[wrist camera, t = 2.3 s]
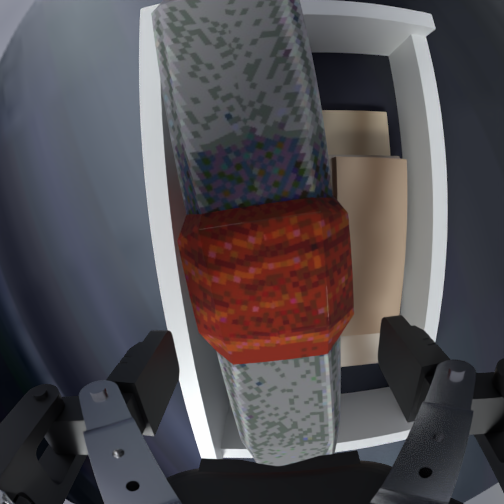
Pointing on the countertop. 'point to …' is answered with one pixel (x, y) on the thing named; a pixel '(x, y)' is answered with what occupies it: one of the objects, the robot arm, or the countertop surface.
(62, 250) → the countertop surface
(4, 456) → the robot arm
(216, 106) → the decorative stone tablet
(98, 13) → the countertop surface
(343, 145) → the bottom offcut
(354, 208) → the top offcut
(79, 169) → the countertop surface
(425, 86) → the white open box
